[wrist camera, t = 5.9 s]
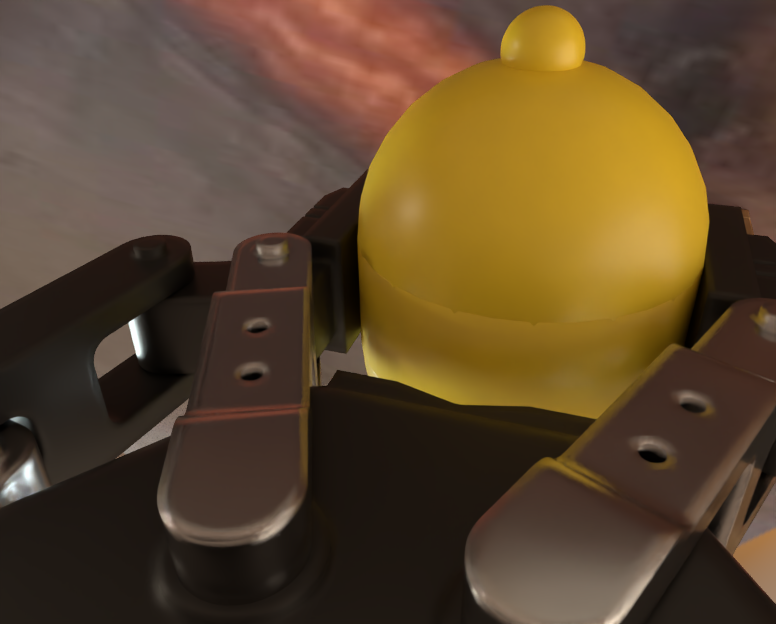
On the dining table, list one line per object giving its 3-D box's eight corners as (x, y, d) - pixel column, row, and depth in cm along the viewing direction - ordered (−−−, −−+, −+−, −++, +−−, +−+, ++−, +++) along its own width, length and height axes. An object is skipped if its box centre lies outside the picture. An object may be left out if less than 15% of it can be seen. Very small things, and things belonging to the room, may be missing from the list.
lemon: (412, -24, 13) (278, 34, 8) (744, -16, 11) (798, 60, 7) (411, 371, 18) (325, 543, 13) (646, 414, 16) (640, 625, 12)
